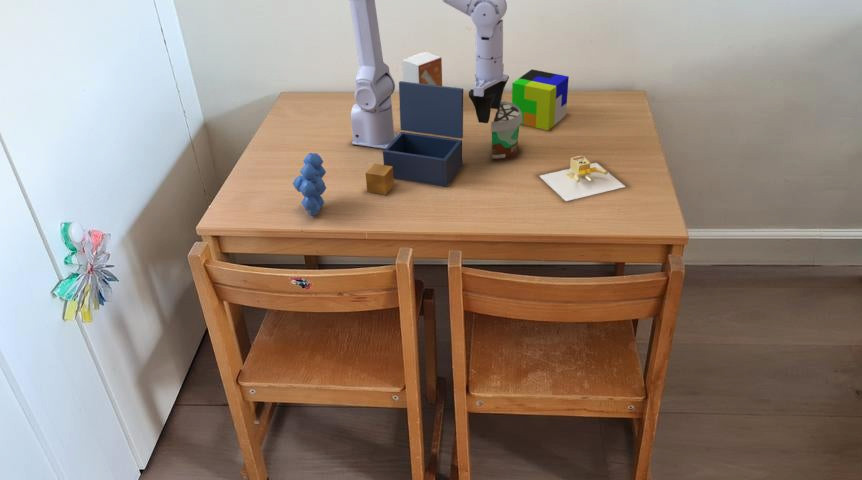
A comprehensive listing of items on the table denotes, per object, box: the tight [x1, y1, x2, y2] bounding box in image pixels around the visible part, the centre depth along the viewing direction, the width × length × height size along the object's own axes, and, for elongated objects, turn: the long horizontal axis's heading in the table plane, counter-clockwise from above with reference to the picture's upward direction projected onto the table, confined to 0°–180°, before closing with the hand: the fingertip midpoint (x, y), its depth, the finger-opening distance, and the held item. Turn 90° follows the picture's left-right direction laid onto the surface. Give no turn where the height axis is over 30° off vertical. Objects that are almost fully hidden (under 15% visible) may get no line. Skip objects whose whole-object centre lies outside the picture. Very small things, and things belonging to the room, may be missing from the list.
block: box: [365, 163, 395, 196], centre depth 162 cm, size 4×4×5 cm
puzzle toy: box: [511, 69, 569, 131], centre depth 187 cm, size 10×10×10 cm
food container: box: [490, 100, 523, 162], centre depth 172 cm, size 12×6×10 cm, turn 169°
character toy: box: [568, 154, 609, 183], centre depth 163 cm, size 8×3×8 cm
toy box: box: [382, 131, 464, 188], centre depth 168 cm, size 10×15×6 cm
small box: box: [401, 51, 443, 86], centre depth 193 cm, size 8×6×13 cm
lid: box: [398, 80, 464, 140], centre depth 166 cm, size 11×15×1 cm
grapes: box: [291, 152, 327, 217], centre depth 154 cm, size 12×7×12 cm, turn 174°
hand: (489, 115), depth 168 cm, fingers open, 7 cm apart
